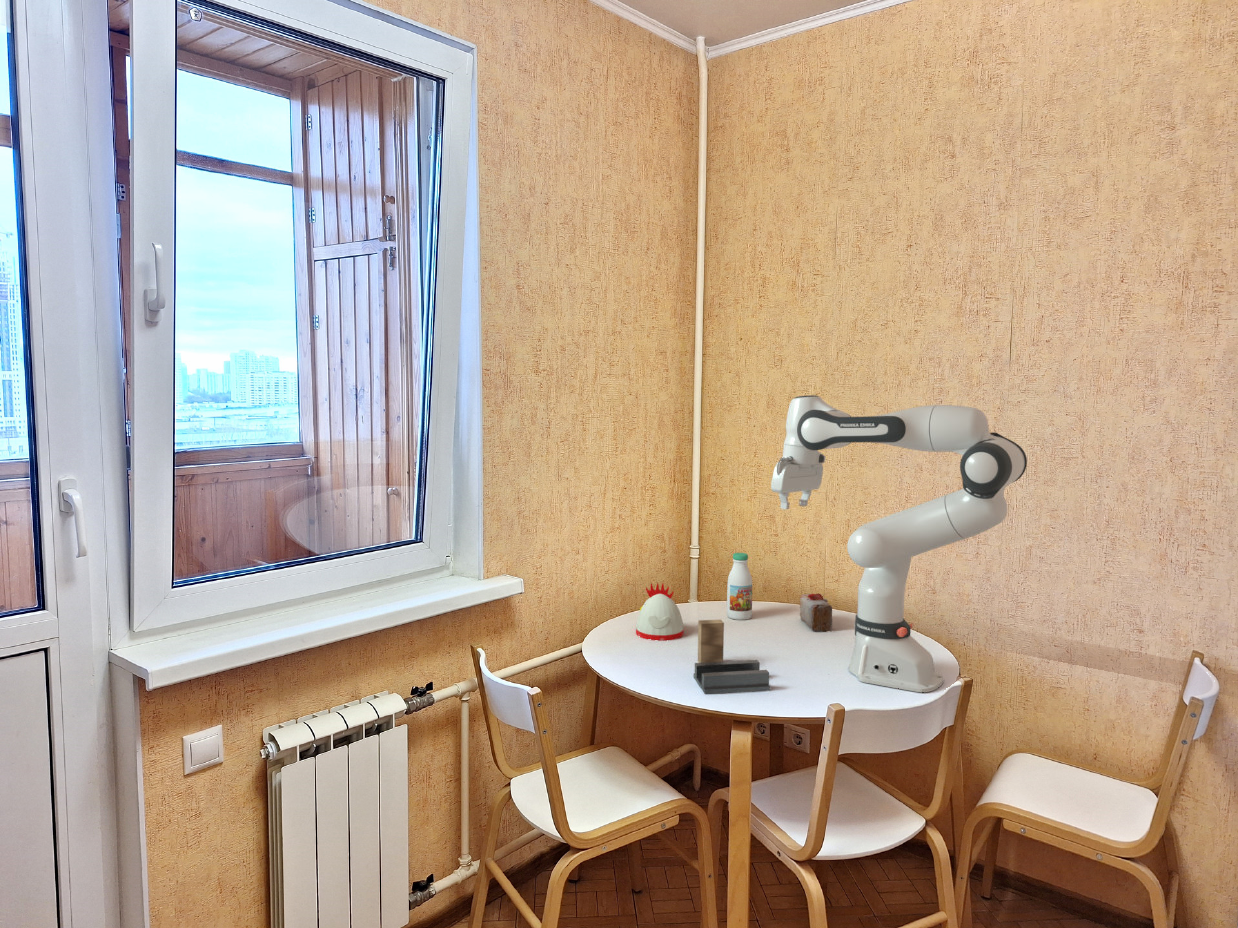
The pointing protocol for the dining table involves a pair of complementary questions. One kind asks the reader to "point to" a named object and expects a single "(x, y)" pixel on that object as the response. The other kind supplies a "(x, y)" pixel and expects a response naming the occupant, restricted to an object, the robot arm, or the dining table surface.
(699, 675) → the door track
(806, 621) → the food item
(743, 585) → the milk bottle
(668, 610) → the kitchen timer
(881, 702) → the dining table surface
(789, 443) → the robot arm
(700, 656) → the wooden block
